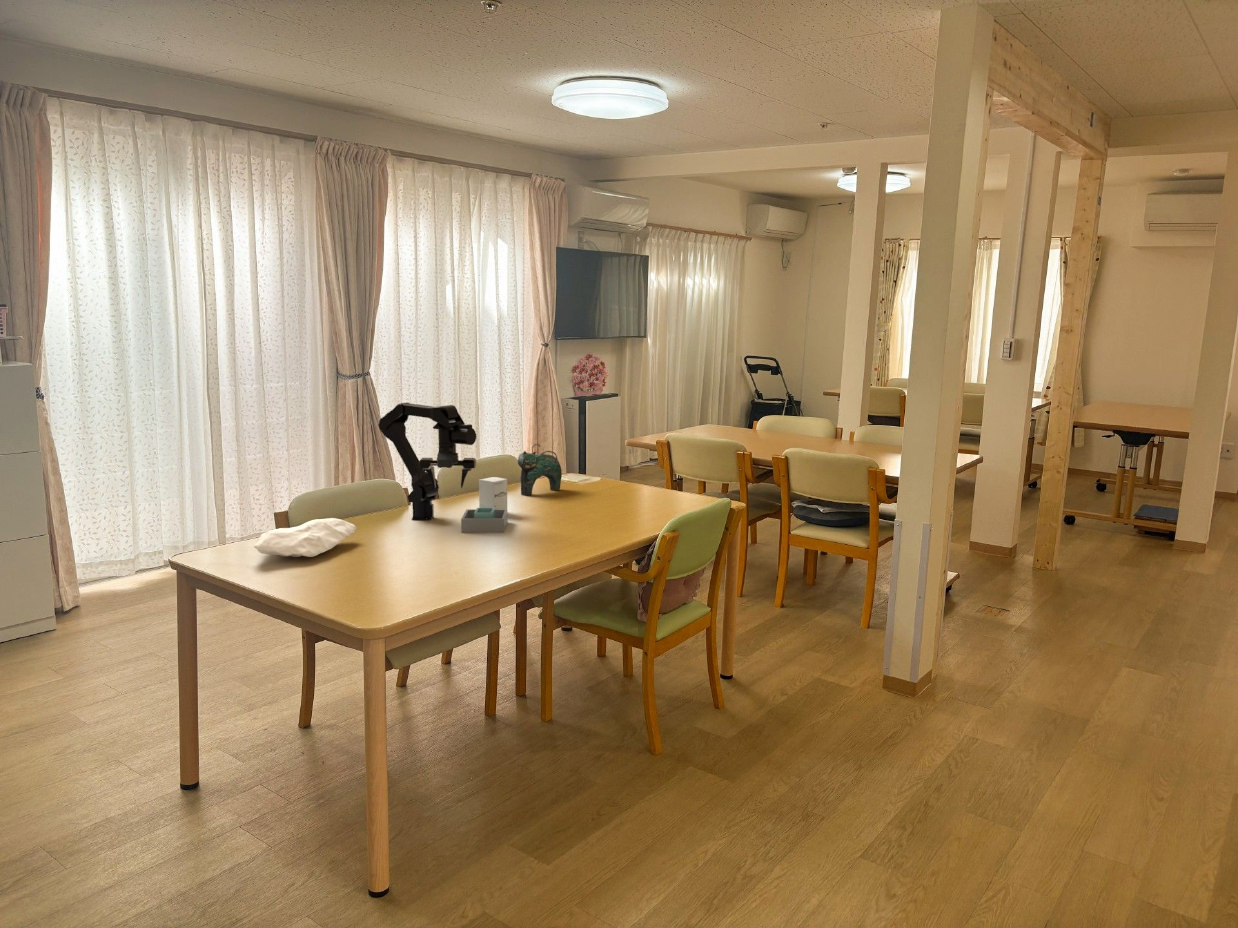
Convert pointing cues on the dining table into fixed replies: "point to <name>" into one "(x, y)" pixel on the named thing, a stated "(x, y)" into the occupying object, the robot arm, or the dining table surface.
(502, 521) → the grey crate
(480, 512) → the teal crate
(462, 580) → the dining table surface
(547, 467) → the ceramic cat
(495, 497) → the supplement box
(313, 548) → the crumpled cloth
